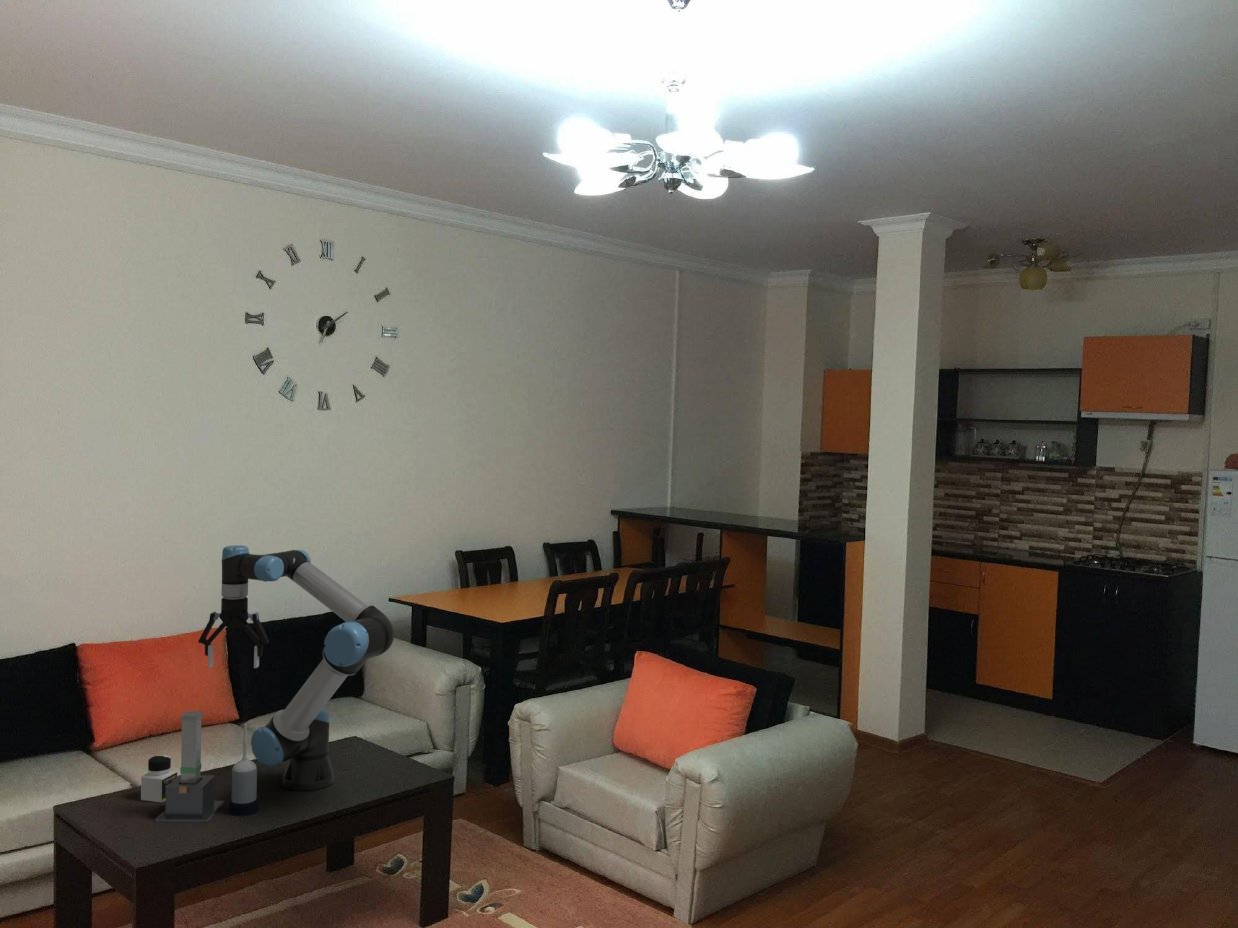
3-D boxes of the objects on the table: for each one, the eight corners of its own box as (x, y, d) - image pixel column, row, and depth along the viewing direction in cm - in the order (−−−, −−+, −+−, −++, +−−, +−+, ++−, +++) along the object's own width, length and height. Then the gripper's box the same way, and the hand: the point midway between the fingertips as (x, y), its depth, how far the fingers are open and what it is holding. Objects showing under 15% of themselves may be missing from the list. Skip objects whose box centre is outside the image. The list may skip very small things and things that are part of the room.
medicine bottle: (162, 802, 298) (162, 761, 297) (140, 800, 299) (140, 759, 299) (177, 794, 305) (178, 754, 304) (156, 791, 306) (156, 752, 306)
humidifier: (260, 804, 299) (262, 719, 298) (256, 815, 291) (258, 727, 290) (231, 805, 297) (232, 720, 296) (226, 816, 289) (227, 728, 288)
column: (201, 784, 293) (202, 711, 292) (196, 790, 289) (197, 716, 288) (185, 784, 293) (186, 711, 292) (179, 790, 288) (180, 715, 288)
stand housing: (223, 803, 299) (224, 771, 298) (207, 822, 285) (207, 788, 284) (174, 803, 298) (174, 771, 297) (155, 821, 284) (155, 788, 283)
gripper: (280, 595, 315) (278, 664, 315) (196, 594, 313) (195, 663, 314) (273, 599, 307) (272, 670, 308) (187, 598, 306) (186, 668, 306)
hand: (233, 666), depth 311 cm, fingers open, 13 cm apart
